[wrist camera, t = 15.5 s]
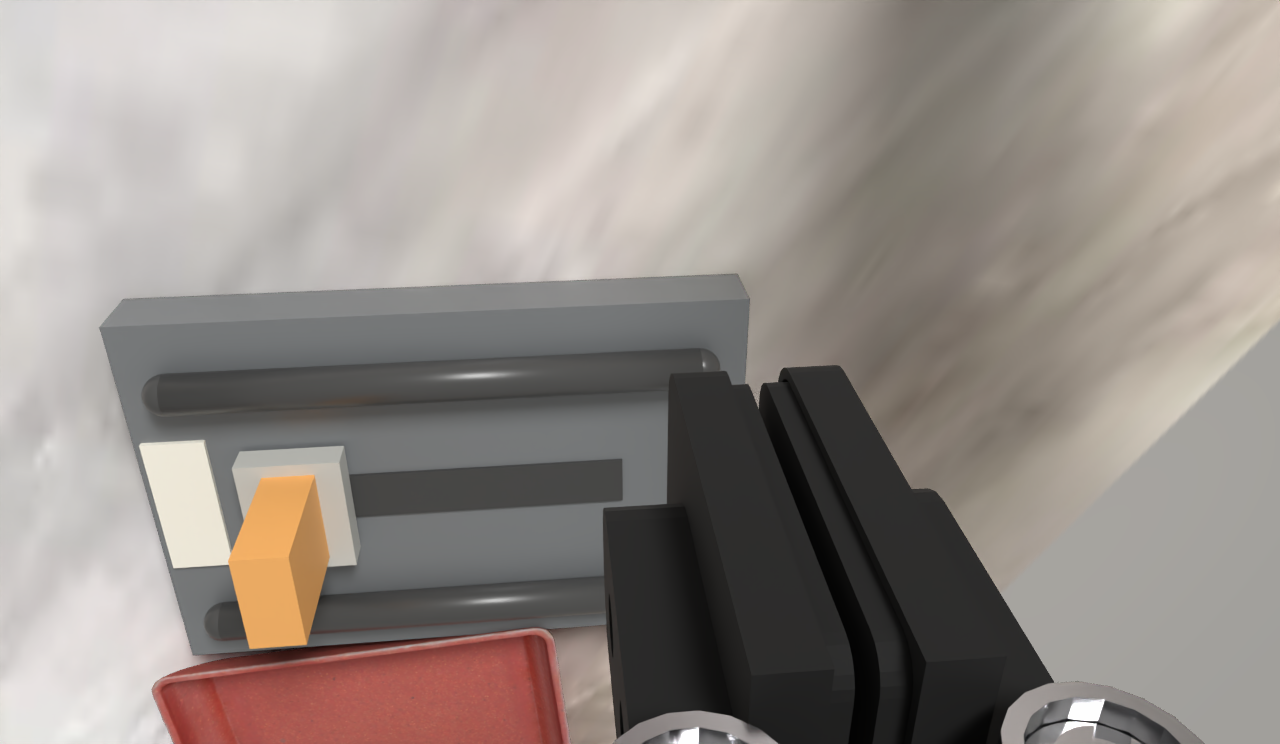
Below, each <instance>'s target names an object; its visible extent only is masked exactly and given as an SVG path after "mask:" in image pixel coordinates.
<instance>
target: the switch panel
mask: <svg viewBox="0 0 1280 744" xmlns="http://www.w3.org/2000/svg"><path fill="white" fill-rule="evenodd" d="M749 304H750V298H749V296H748V294H747V292H746V290H745V288H744V286H743V284H742V282H741V280H740V278H739V276H738V274H722V275H698V276H674V277H650V278H625V279H601V280H577V281H552V282H528V283H504V284H479V285H455V286H431V287H407V288H382V289H358V290H334V291H309V292H285V293H261V294H236V295H212V296H188V297H164V298H139V299H123V300H122V301H121V303H120V304H119V305H118V306H117V307H116V308H115V310H114V311H113V312H112V313H111V314H110V315H109V317H108V318H107V319H106V320H105V321H104V323H103V324H102V325H101V326H100V327H99V328H100V331H101V335H102V338H103V342H104V345H105V349H106V352H107V356H108V359H109V363H110V366H111V370H112V373H113V377H114V380H115V384H116V387H117V391H118V394H119V398H120V401H121V405H122V408H123V412H124V415H125V419H126V422H127V426H128V429H129V433H130V436H131V440H132V443H133V447H134V450H135V454H136V457H137V461H138V464H139V468H140V471H141V475H142V478H143V482H144V485H145V489H146V492H147V496H148V499H149V503H150V506H151V510H152V513H153V517H154V520H155V524H156V527H157V531H158V534H159V538H160V541H161V545H162V548H163V552H164V555H165V559H166V562H167V566H168V569H169V573H170V576H171V580H172V583H173V587H174V590H175V594H176V597H177V601H178V604H179V608H180V611H181V615H182V618H183V622H184V625H185V629H186V632H187V636H188V639H189V643H190V646H191V650H192V653H193V655H204V654H217V653H231V652H244V651H258V650H271V649H285V648H299V647H312V646H326V645H339V644H353V643H366V642H380V641H393V640H407V639H421V638H434V637H448V636H461V635H475V634H484V633H491V632H498V631H506V630H513V629H520V628H529V627H540V628H544V629H556V628H570V627H583V626H597V625H606V609H605V588H604V557H603V509H604V508H608V507H625V506H642V505H659V504H667V453H668V391H669V378H670V375H671V373H689V372H710V371H727V373H728V375H729V378H730V381H731V383H732V385H737V384H745V373H746V355H747V338H748V321H749ZM330 446H344V449H345V455H346V461H347V467H348V473H349V479H350V485H351V491H352V497H353V503H354V509H355V515H356V521H357V527H358V533H359V539H360V545H361V548H360V552H359V557H358V561H357V565H348V566H333V567H327V570H326V573H325V577H324V581H323V585H322V589H321V593H320V596H319V600H318V604H317V608H316V612H315V615H314V619H313V623H312V627H311V631H310V635H309V638H308V642H307V645H297V646H284V647H270V648H257V649H250V648H249V644H248V640H247V636H246V632H245V628H244V624H243V620H242V616H241V612H240V608H239V604H238V600H237V596H236V592H235V588H234V583H233V579H232V575H231V571H230V567H229V563H228V560H229V557H230V555H231V552H232V550H233V547H234V545H235V542H236V540H237V537H238V535H239V532H240V530H241V527H242V525H243V522H244V519H243V515H242V510H241V506H240V502H239V498H238V493H237V489H236V485H235V480H234V476H233V472H232V467H233V465H234V463H235V460H236V458H237V456H238V454H239V452H240V451H258V450H276V449H294V448H312V447H330Z"/></svg>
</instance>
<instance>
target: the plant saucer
mask: <svg viewBox="0 0 1280 744" xmlns="http://www.w3.org/2000/svg"><path fill="white" fill-rule="evenodd" d="M152 693H153V697H154V700H155V702H156V704H157V706H158V709H159V711H160V713H161V716H162V719H163V721H164V723H165V725H166V727H167V730H168V732H169V734H170V736H171V739H172V741H173V743H174V744H571V740H570V736H569V727H568V722H567V716H566V710H565V703H564V697H563V692H562V684H561V679H560V671H559V663H558V658H557V652H556V646H555V641H554V638H553V636H552V635H551V633H550V632H549V631H548V630H546V629H544V628H540V627H529V628H520V629H513V630H506V631H498V632H491V633H484V634H475V635H461V636H448V637H434V638H421V639H407V640H393V641H380V642H366V643H353V644H339V645H326V646H317V647H309V648H301V649H294V650H286V651H278V652H271V653H263V654H255V655H248V656H241V657H234V658H227V659H221V660H217V661H212V662H208V663H204V664H200V665H196V666H193V667H189V668H186V669H183V670H180V671H177V672H174V673H172V674H169V675H167V676H165V677H163V678H161V679H160V680H158V681H157V682H156V683H155V684H154V686H153V688H152Z"/></svg>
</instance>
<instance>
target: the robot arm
mask: <svg viewBox="0 0 1280 744" xmlns="http://www.w3.org/2000/svg"><path fill="white" fill-rule="evenodd" d="M603 557H604V588H605V609H606V625H607V639H608V652H609V663H610V674H611V684H612V694H613V705H614V715H615V726H616V736H617V739H616V740H615V741H614V742H613V744H1204V743H1203V741H1202V740H1200V739H1199V738H1198V737H1197V736H1196V735H1195V734H1194V733H1193V732H1191V731H1190V730H1189V729H1188V728H1187V727H1186V726H1185V725H1183V724H1182V723H1181V722H1180V721H1179V720H1178V719H1176V717H1174V716H1173V715H1171V714H1169V713H1167V712H1166V711H1164V710H1162V709H1161V708H1159V707H1157V706H1155V705H1154V704H1152V703H1150V702H1148V701H1147V700H1145V699H1143V698H1141V697H1138V696H1135V695H1133V694H1130V693H1127V692H1124V691H1121V690H1119V689H1116V688H1113V687H1110V686H1104V685H1098V684H1092V683H1085V682H1079V681H1075V682H1061V683H1054V681H1053V679H1052V678H1051V676H1050V675H1049V673H1048V671H1047V670H1046V668H1045V666H1044V665H1043V663H1042V661H1041V660H1040V658H1039V656H1038V655H1037V653H1036V652H1035V650H1034V648H1033V647H1032V645H1031V643H1030V642H1029V640H1028V638H1027V637H1026V635H1025V634H1024V632H1023V630H1022V629H1021V627H1020V625H1019V624H1018V622H1017V620H1016V619H1015V617H1014V616H1013V614H1012V612H1011V611H1010V609H1009V607H1008V606H1007V604H1006V602H1005V601H1004V599H1003V597H1002V596H1001V594H1000V593H999V591H998V589H997V588H996V586H995V584H994V583H993V581H992V579H991V578H990V576H989V574H988V573H987V571H986V570H985V568H984V566H983V565H982V563H981V561H980V560H979V558H978V556H977V555H976V553H975V552H974V550H973V548H972V547H971V545H970V543H969V542H968V540H967V538H966V537H965V535H964V533H963V532H962V530H961V529H960V527H959V525H958V524H957V522H956V520H955V519H954V517H953V515H952V514H951V512H950V511H949V509H948V507H947V506H946V504H945V502H944V501H943V500H942V498H941V497H940V496H939V495H938V494H937V492H936V491H933V490H931V489H928V488H927V489H911V488H910V486H909V484H908V483H907V481H906V479H905V477H904V476H903V474H902V472H901V470H900V469H899V467H898V465H897V463H896V462H895V460H894V458H893V456H892V455H891V453H890V451H889V449H888V448H887V446H886V444H885V442H884V441H883V439H882V437H881V435H880V434H879V432H878V430H877V428H876V427H875V425H874V423H873V421H872V420H871V418H870V416H869V414H868V413H867V411H866V409H865V407H864V406H863V404H862V402H861V400H860V399H859V397H858V395H857V393H856V392H855V390H854V388H853V386H852V385H851V383H850V381H849V380H848V378H847V376H846V374H845V373H844V371H843V369H842V368H841V367H840V366H837V365H833V366H812V367H792V368H783V369H782V371H781V372H780V376H779V380H778V382H777V383H763V385H762V387H761V391H760V399H759V409H758V406H757V404H756V401H755V399H754V396H753V394H752V391H751V389H750V387H749V385H748V384H737V385H732V383H731V381H730V378H729V375H728V373H727V371H710V372H689V373H671V375H670V378H669V391H668V453H667V504H659V505H642V506H625V507H608V508H604V509H603Z"/></svg>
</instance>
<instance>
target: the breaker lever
mask: <svg viewBox="0 0 1280 744" xmlns="http://www.w3.org/2000/svg"><path fill="white" fill-rule="evenodd" d="M232 472H233V476H234V480H235V485H236V489H237V493H238V498H239V502H240V506H241V510H242V515H243V519H244V522H243V525H242V527H241V530H240V532H239V535H238V537H237V540H236V542H235V545H234V547H233V550H232V552H231V555H230V557H229V560H228V563H229V567H230V571H231V575H232V579H233V583H234V588H235V592H236V596H237V600H238V604H239V608H240V612H241V616H242V620H243V624H244V628H245V632H246V636H247V640H248V644H249V648H250V649H257V648H270V647H284V646H297V645H307V642H308V638H309V635H310V631H311V627H312V623H313V619H314V615H315V612H316V608H317V604H318V600H319V596H320V593H321V589H322V585H323V581H324V577H325V573H326V570H327V567H333V566H348V565H357V561H358V557H359V552H360V548H361V545H360V539H359V533H358V527H357V521H356V515H355V509H354V503H353V497H352V491H351V485H350V479H349V473H348V467H347V461H346V455H345V449H344V446H330V447H312V448H294V449H276V450H258V451H240V452H239V454H238V456H237V458H236V460H235V463H234V465H233V467H232Z"/></svg>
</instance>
